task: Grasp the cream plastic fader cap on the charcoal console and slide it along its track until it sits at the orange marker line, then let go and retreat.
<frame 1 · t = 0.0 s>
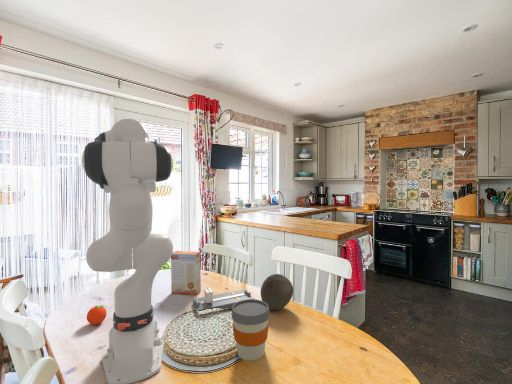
hand: (131, 203, 115), 48 cm above the table, fingers open, 8 cm apart
reusable coffee cup: (250, 352, 88), on the table
fader: (208, 295, 121), point 5 cm above the table, slide at 7.0 cm
dark grey stone: (276, 308, 119), on the table
console: (223, 303, 124), on the table
cracker box: (186, 292, 138), on the table
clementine: (98, 323, 107), on the table
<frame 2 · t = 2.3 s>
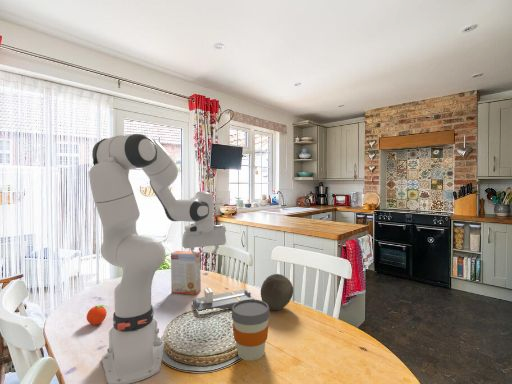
hand: (204, 255, 125), 22 cm above the table, fingers open, 8 cm apart
nothing on the table moved.
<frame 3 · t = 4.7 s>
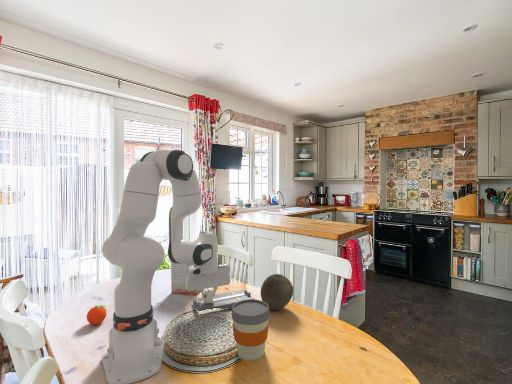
hand: (208, 296, 121), 5 cm above the table, fingers closed on fader, 3 cm apart
fader: (208, 295, 121), point 5 cm above the table, slide at 7.0 cm, touching gripper
everything else where it was.
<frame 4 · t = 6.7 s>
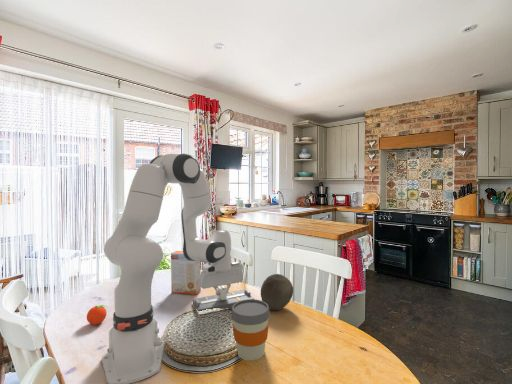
hand: (222, 294, 123), 5 cm above the table, fingers closed on fader, 3 cm apart
fader: (222, 292, 123), point 5 cm above the table, slide at 0.6 cm, touching gripper
everything else where it was.
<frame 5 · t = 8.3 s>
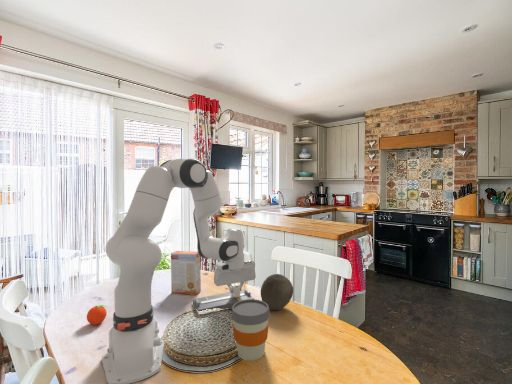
hand: (235, 291, 126), 5 cm above the table, fingers closed on fader, 3 cm apart
fader: (235, 290, 126), point 5 cm above the table, slide at -6.0 cm, touching gripper
everything else where it was.
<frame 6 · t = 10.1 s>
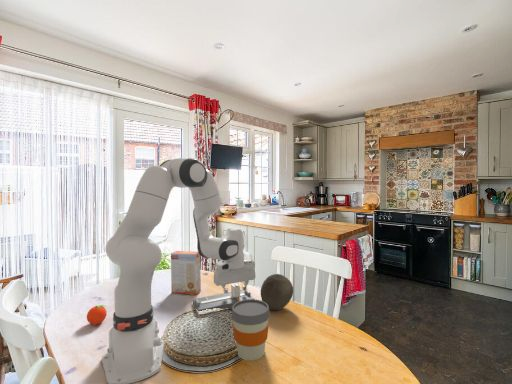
hand: (235, 291, 126), 5 cm above the table, fingers open, 8 cm apart
fader: (235, 290, 126), point 5 cm above the table, slide at -6.1 cm
everything else where it was.
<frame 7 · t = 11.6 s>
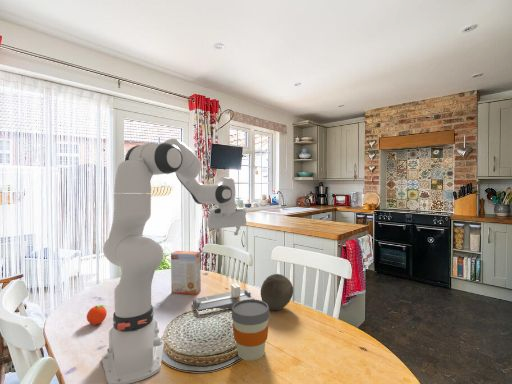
hand: (227, 236, 136), 29 cm above the table, fingers open, 8 cm apart
nothing on the table moved.
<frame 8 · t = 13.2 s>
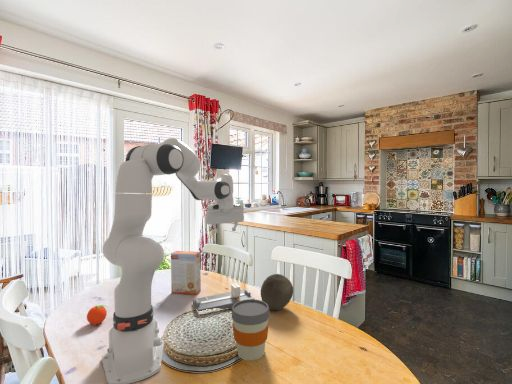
hand: (225, 231, 138), 31 cm above the table, fingers open, 8 cm apart
nothing on the table moved.
at the end: fader slide at -6.1 cm; the gripper is holding nothing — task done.
